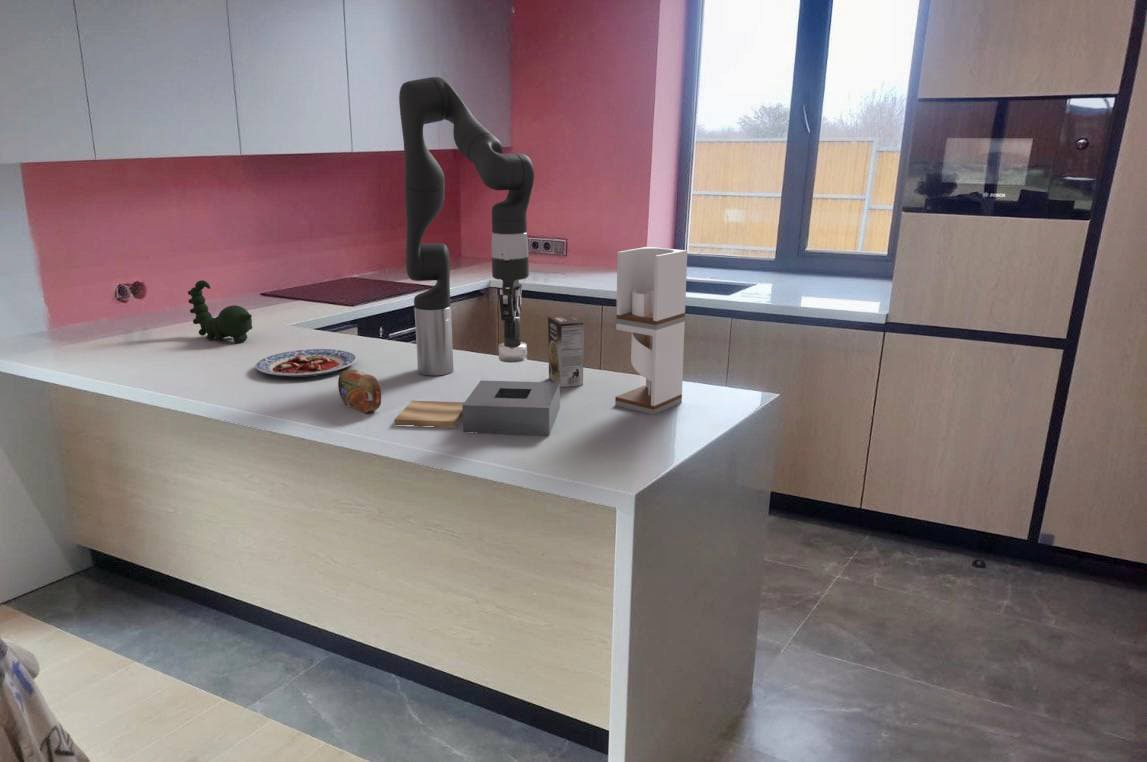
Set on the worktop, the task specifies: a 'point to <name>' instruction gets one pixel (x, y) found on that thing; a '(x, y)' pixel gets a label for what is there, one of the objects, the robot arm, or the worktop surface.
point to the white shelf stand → (653, 323)
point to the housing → (512, 408)
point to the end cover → (513, 346)
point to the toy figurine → (219, 318)
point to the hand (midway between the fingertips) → (511, 336)
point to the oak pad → (431, 414)
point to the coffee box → (565, 350)
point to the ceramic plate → (306, 362)
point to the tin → (359, 390)
